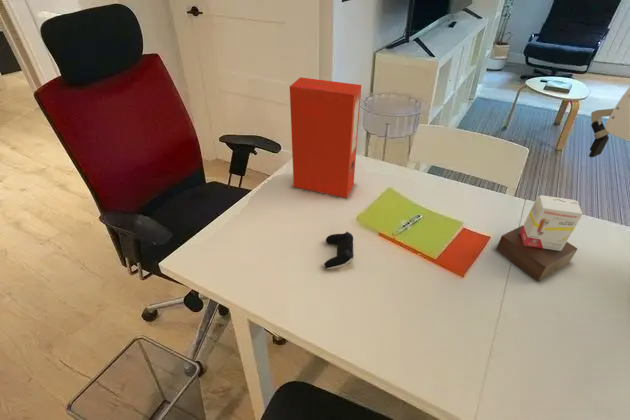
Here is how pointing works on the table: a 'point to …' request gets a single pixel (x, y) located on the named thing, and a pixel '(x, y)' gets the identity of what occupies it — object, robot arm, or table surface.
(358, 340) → the table surface
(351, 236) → the gaming controller
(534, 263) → the walnut block
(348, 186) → the file binder
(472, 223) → the table surface
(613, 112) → the robot arm
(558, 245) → the ink box
